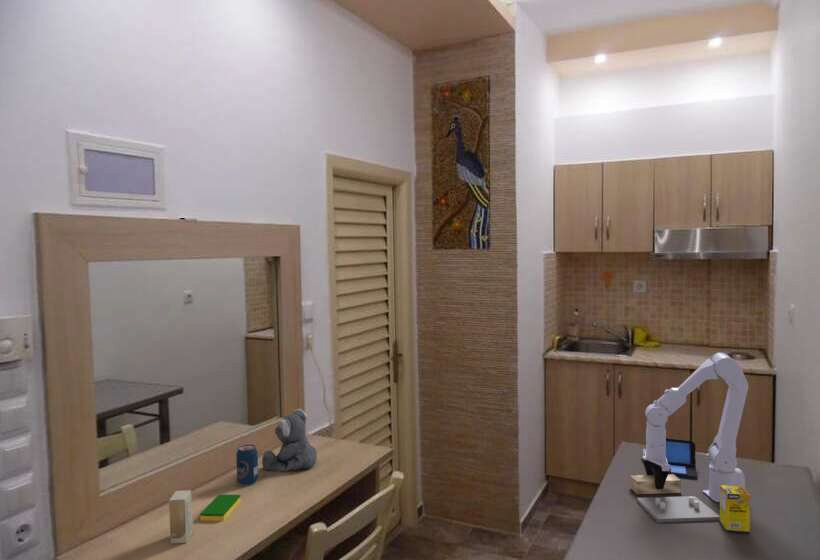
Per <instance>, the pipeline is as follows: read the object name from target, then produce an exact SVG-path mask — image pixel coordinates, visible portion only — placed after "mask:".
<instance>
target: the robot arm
mask: <svg viewBox="0 0 820 560" xmlns="http://www.w3.org/2000/svg"><path fill="white" fill-rule="evenodd" d="M718 376H719V377H720V378H722V379H723V380H724V382H725V383H726V384H727V386H728V387H727V388H728V389H727V391H726V397H725V402H724V406H723V410H722V413H721V419H720V423H719V427H718V431H717V434H716V436H715V437H714V438H713V443H711V445H710V446H709V447H708V450H707V454H708V457H709V458H710V459H711V460H710V463H709V464H708V489H704V490H702V493H704V494H705V495H706V496H708V497H709V498H710V499H712V500H713V501H714V502H716V503H720V485H727V486H742V487H743V488H744V489H745V490H746V478H745V474H744V472H743V470H741V469H740V468H738V467H737V465H738V459H737V457H736V455H737V454H736V453H737V436H738V433H739V429H740V425H741V420H742V416H743V413H744V407H745V404H746V398H747V395H748V390H749V383H748V380H747V378H746V375H745V373H744V372H743V367H742V366H741V365H740V364H739V363H738V362H737V361H736V360H735V359H733V358H732V357H730V355H729V354H727V353H725V352H717V353H714V354H712V355H711V357H710V358H708V359H706V360H704V361H703V363H701V365H700V366H699V367H698V368H697V369H695V371H693V372H692V373H691V374H690V375H689V376H688V377H687V378H686V379H685V380H684V381H683V382H682V383H681V384H680V385H679V386H678V387H670V389H668V388H666V389H665V390H664V394H662V396H660V397H659V398H658V399H657V400H656V399H655V400H654V401H652V402H653V403H651V404H649V405H648V406H647V407H646V408H645V411H644V415H645V416H646V423H645V424H646V428H645V448H643V449H642V455H643V456H642V458H641V459H640V461H641V463H642V465H643V467H644V470H645V475H654V479H655V486H656V489H663V488H664V485H665V481H666V478H667V476H668V475H669V473H670V472H671V468H670V465H669V464H668V462H667V459H666V438H667V437H666V436H667V430H666V424H667V422H668V419H669V416H671V415H672V414H674V413H675V412H676V411H677V410H678V409H679V408H680V407H682V406H683V405H684V404H685V403H686V402H687V395H689V394H690V393H692V392H693V391H694V390H695V389H697V388H698V387H699V386H700V385H702V384H703V383H705V382H706V381H707V380H719V377H718Z"/></svg>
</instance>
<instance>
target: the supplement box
mask: <svg viewBox="0 0 820 560" xmlns="http://www.w3.org/2000/svg"><path fill="white" fill-rule="evenodd" d="M750 514H751V494H750V493H749V492H748V491H747V490H746V488H745V489H744V488H743V487H742V486H727V485H720V502H719V516H720V520H719V524H720V526H721V527H722V528H723V530H724V531H725V532H726V533H728V534H740V535H741V534H743V535H749V534H750V530H751V529H750V528H751V527H750V524H751V523H750V521H751V518H750V517H751V515H750Z"/></svg>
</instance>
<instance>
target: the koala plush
mask: <svg viewBox="0 0 820 560" xmlns="http://www.w3.org/2000/svg"><path fill="white" fill-rule="evenodd" d="M307 418H308V414H307V413H306V412H305V411H304V410H303V409H302V408H300V407H299V408H297V409H295V410H293V412H292V413H288V414H285V415H284V416H283V417H282V418H281V419H280V420H279V422H278V426H276V428H275V430H274V432H275V435H276V437H277V439H278V441H280V442H281V443H282V445H281V447H280V449H279V451H278V453H277V455H276V454H275V453H274V452H273V451H272V450H265V451H264V452H263V455H262V458H261V464H262V468H263V469H264V470H266V471H274V472H278V471H279V472H280V471H281V472H283V473H287V472H290V471H291V470H292V471H297V470H300V469H311V468H312V467H313V466H315V464H316V463H317V459H318V455H317V453H318V452H317V449H316V448H315V447H314V446H312V445H311V444H310V442H309V441H308V438H307V436H306V426H305V425H307V422H308V419H307Z"/></svg>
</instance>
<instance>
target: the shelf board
mask: <svg viewBox="0 0 820 560" xmlns="http://www.w3.org/2000/svg"><path fill="white" fill-rule="evenodd" d="M629 488H630V489H631V490H632V491H633V492H634V493H635V495H652V494H653V495H655V494H656V495H657V494H680V493H682V479H680V477H676V476H675V475H674V474H669V475H668V476H667V478H666V481H665V485H664V488H663V489H656V486H655V479H654V475H646V474H642V475H641V474H639V475H638V474H637V475H630V487H629Z"/></svg>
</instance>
